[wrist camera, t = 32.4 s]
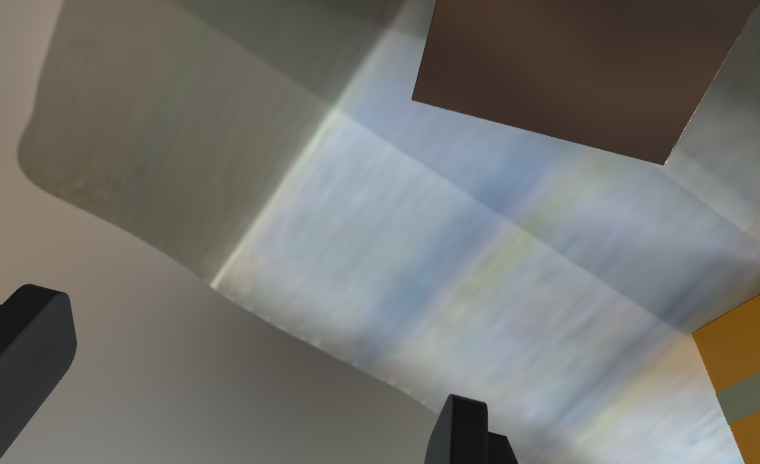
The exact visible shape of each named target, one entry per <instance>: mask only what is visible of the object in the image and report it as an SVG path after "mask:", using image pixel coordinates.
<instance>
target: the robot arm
mask: <svg viewBox="0 0 760 464" xmlns="http://www.w3.org/2000/svg"><path fill="white" fill-rule="evenodd" d="M76 347H77V341H76V334H75V328H74V322H73V317H72V310H71V304H70V299H69V296H68V295H67V294H66V293H63V292H59V291H56V290H52V289H48V288H44V287H40V286H36V285H33V284H25V285H23V286H21V287H20V288H19V289H17V290H16V291H15V292H14V293H13V294H12V295H11V296H10V297H9V298H8V299H7V300H6V301H5V302H4V303H3V304H2V305H0V458H1V457H2V456H3V454H4V453H5V452H6V450H7V449H8V448H9V447H10V445H11V444H12V443H13V441H14V440H15V438H16V437H17V436H18V435H19V433H20V432H21V431H22V430H23V428H24V427H25V426H26V424H27V423H28V422H29V420H30V419H31V418H32V416H33V415H34V414H35V412H36V411H37V410H38V409H39V407H40V406H41V405H42V403H43V402H44V401H45V399H46V398H47V397H48V395H49V394H50V393H51V392H52V390H53V389H54V388H55V386H56V385H57V384H58V382H59V381H60V380H61V378H62V377H63V376H64V375H65V373H66V372H67V370H68V369H69V367H70V365H71V363H72V361H73V359H74V356H75V352H76ZM424 464H518V462H517V459H516V457H515V455H514V453H513V450H512V448H511V446H510V443H509V441H508V439H507V436H503V435H499V434H495V433H491V432H488V409H487V404H486V403H485V402H481V401H477V400H473V399H469V398H466V397H462V396H458V395H454V394H450V395H449V396H448V398H447V400H446V402H445V405H444V407H443V409H442V411H441V414H440V416H439V418H438V420H437V423H436V425H435V427H434V429H433V432H432V434H431V437H430V440H429V443H428V447H427V451H426V457H425V463H424Z"/></svg>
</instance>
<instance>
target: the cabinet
mask: <svg viewBox="0 0 760 464" xmlns="http://www.w3.org/2000/svg"><path fill="white" fill-rule="evenodd" d="M759 2H760V0H437V2H436V5H435V9H434V13H433V17H432V21H431V25H430V29H429V33H428V37H427V41H426V45H425V48H424V52H423V56H422V60H421V64H420V68H419V72H418V76H417V80H416V84H415V88H414V91H413V95H412V100H413V101H416V102H420V103H424V104H428V105H431V106H435V107H439V108H443V109H447V110H451V111H455V112H458V113H462V114H466V115H470V116H474V117H478V118H482V119H486V120H489V121H493V122H497V123H501V124H505V125H509V126H513V127H517V128H520V129H524V130H528V131H532V132H536V133H540V134H544V135H547V136H551V137H555V138H559V139H563V140H567V141H571V142H575V143H578V144H582V145H586V146H590V147H594V148H598V149H602V150H605V151H609V152H613V153H617V154H621V155H625V156H629V157H633V158H636V159H640V160H644V161H648V162H652V163H656V164H660V165H665V163H666V161H667V160H668V158H669V156H670V154H671V153H672V151H673V149H674V148H675V146H676V144H677V142H678V141H679V139H680V137H681V136H682V134H683V132H684V130H685V129H686V127H687V125H688V124H689V122H690V120H691V118H692V117H693V115H694V113H695V111H696V110H697V108H698V106H699V105H700V103H701V101H702V99H703V98H704V96H705V94H706V93H707V91H708V89H709V87H710V86H711V84H712V82H713V81H714V79H715V77H716V75H717V74H718V72H719V70H720V69H721V67H722V65H723V63H724V62H725V60H726V58H727V57H728V55H729V53H730V51H731V50H732V48H733V46H734V45H735V43H736V41H737V39H738V38H739V36H740V34H741V33H742V31H743V29H744V27H745V26H746V24H747V22H748V21H749V19H750V17H751V15H752V14H753V12H754V10H755V9H756V7H757V5H758V3H759Z"/></svg>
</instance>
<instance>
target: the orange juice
mask: <svg viewBox="0 0 760 464" xmlns="http://www.w3.org/2000/svg"><path fill="white" fill-rule="evenodd" d="M692 335H693V338H694V340H695V342H696V345H697V347H698V350H699V352H700V355H701V357H702V360H703V362H704V364H705V367H706V369H707V372H708V374H709V377H710V379H711V382H712V384H713V387H714V389H715V391H716V396H717V399H718V401H719V403H720V406H721V408H722V411H723V413H724V416H725V418H726V421H727V423H728V425H729V426H730V428H731V431H732V433H733V436H734V438H735V441H736V443H737V445H738V448H739V450H740V453H741V455H742V458H743V460H744V463H745V464H760V295H758V296H756V297H754V298H753V299H751V300H749V301H747V302H746V303H744V304H742V305H740V306H739V307H737V308H735V309H734V310H732V311H730V312H728V313H727V314H725V315H723V316H721V317H720V318H718V319H716V320H715V321H713V322H711V323H709V324H708V325H706V326H704V327H702V328H701V329H699V330H697V331H696V332H694V333H692Z"/></svg>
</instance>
